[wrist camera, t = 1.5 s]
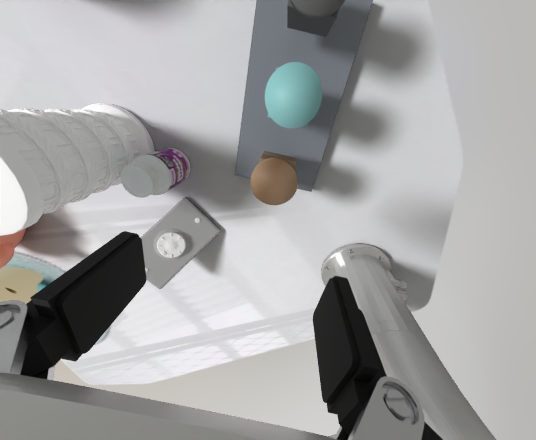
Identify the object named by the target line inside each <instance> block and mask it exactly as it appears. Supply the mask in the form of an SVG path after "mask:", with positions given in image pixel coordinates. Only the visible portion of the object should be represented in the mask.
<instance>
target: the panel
mask: <svg viewBox="0 0 536 440" xmlns="http://www.w3.org/2000/svg"><path fill="white" fill-rule="evenodd" d="M372 1H373V0H345V2H344V3H343V5H342V6H341V7H340V8H339V11H338V14H337V18H336V20H335V22H334V24H333V25H332V27H331V29H330V31H329V33H328V35H327V37H324V36H320V35H316V34H311V33H307V32H303V31H299V30H295V29H290V28H287V5H288V0H257V2H256V10H255V18H254V26H253V34H252V42H251V50H250V58H249V66H248V74H247V82H246V90H245V98H244V105H243V113H242V121H241V129H240V137H239V145H238V153H237V161H236V169H235V175H238V176H243V177H247V178H251V175H252V173H253V171H254V169H255V167H256V166H257V165H258V164H259V162H260V158H261V156H262V154H263V152H264V151H268V152H273V153H277V154H281V155H286V156H290V157H295V160H296V165H297V167H296V174H297V181H298V184H297V189H301V190H306V191H310V192H311V191H312V188H313V185H314V182H315V179H316V175H317V172H318V169H319V166H320V163H321V160H322V157H323V154H324V151H325V148H326V144H327V141H328V138H329V135H330V132H331V129H332V126H333V123H334V120H335V116H336V113H337V110H338V107H339V104H340V101H341V98H342V95H343V92H344V88H345V85H346V82H347V79H348V76H349V73H350V70H351V67H352V64H353V60H354V57H355V54H356V51H357V48H358V45H359V42H360V39H361V36H362V32H363V29H364V26H365V23H366V20H367V17H368V14H369V11H370V8H371V5H372ZM290 62H301V63H304V64H306V65H308V66H309V67H311V68H312V69H313V70H314V71H315V72H316V74H317V75H318V77H320V82H321V86H322V101H321V105H320V108H319V110H318V112H317V113H316V115H315V116H314V118H313V119H312V120H311V121H310V122H308V126H305V125H304V126H302V127H299V128H285V127H282V126H280V125H278V124H277V123H276V122H274V121H273V119H272V118H270V117H268V111H267V109H266V105H265V90H266V86H267V83H268V81H269V79H270V77H271V75H272V74H273V73H274V72H275V71H276V67H278V68H279V67H281V66H282V65H284V64H287V63H290Z"/></svg>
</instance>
